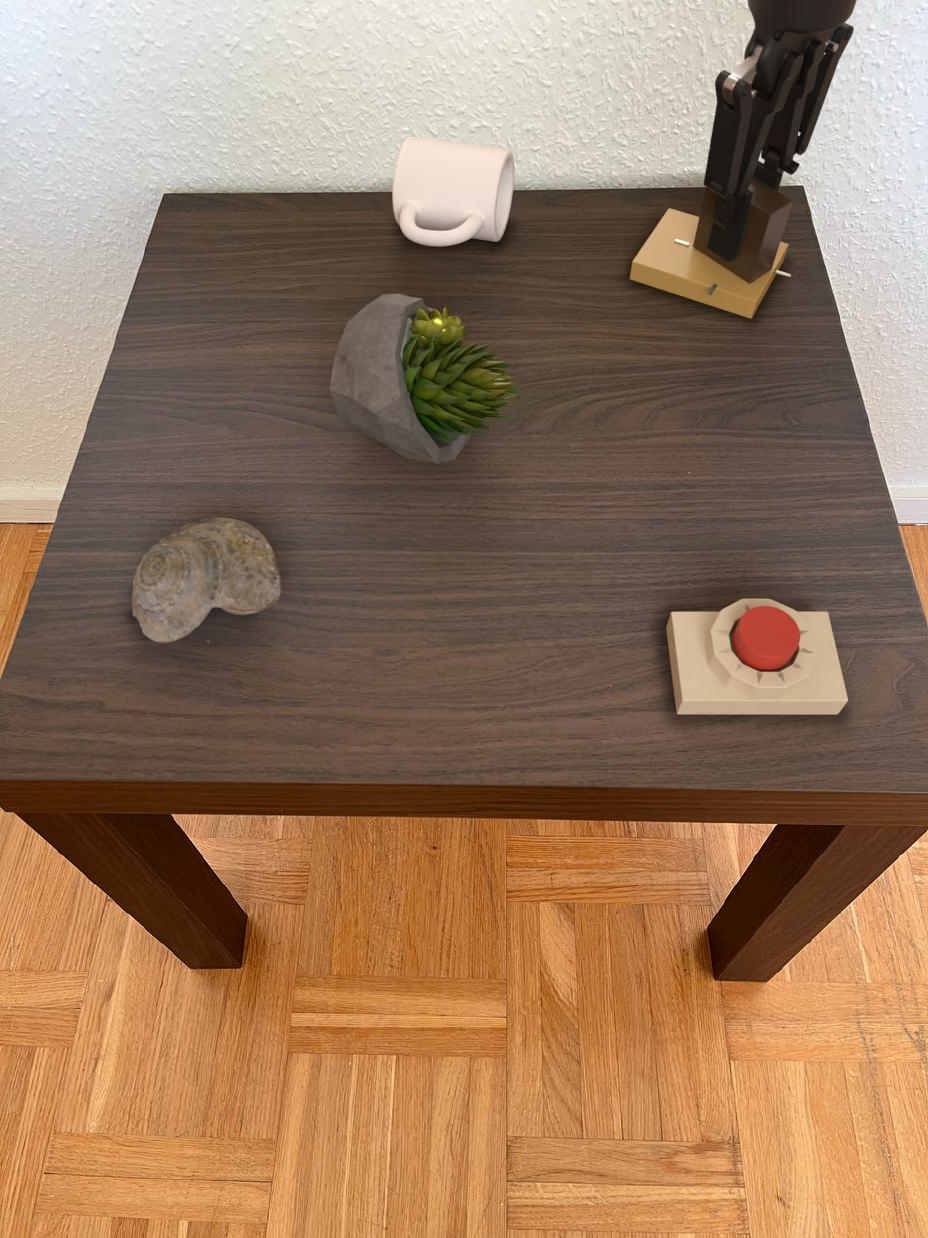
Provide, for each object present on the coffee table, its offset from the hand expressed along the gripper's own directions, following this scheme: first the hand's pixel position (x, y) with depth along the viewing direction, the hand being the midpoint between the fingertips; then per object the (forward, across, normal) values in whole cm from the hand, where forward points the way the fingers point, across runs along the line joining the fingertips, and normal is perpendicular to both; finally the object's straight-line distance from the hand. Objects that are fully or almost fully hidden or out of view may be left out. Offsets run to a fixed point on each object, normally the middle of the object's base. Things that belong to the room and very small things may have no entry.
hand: (735, 243), depth 83 cm
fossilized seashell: (+4, +56, 0) cm, 56 cm away
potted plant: (+4, +33, -3) cm, 33 cm away
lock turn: (+1, 0, 0) cm, 1 cm away
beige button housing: (+4, +30, +29) cm, 42 cm away
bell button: (0, +30, +29) cm, 42 cm away
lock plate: (+4, +1, -2) cm, 4 cm away
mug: (+4, +16, -22) cm, 27 cm away
